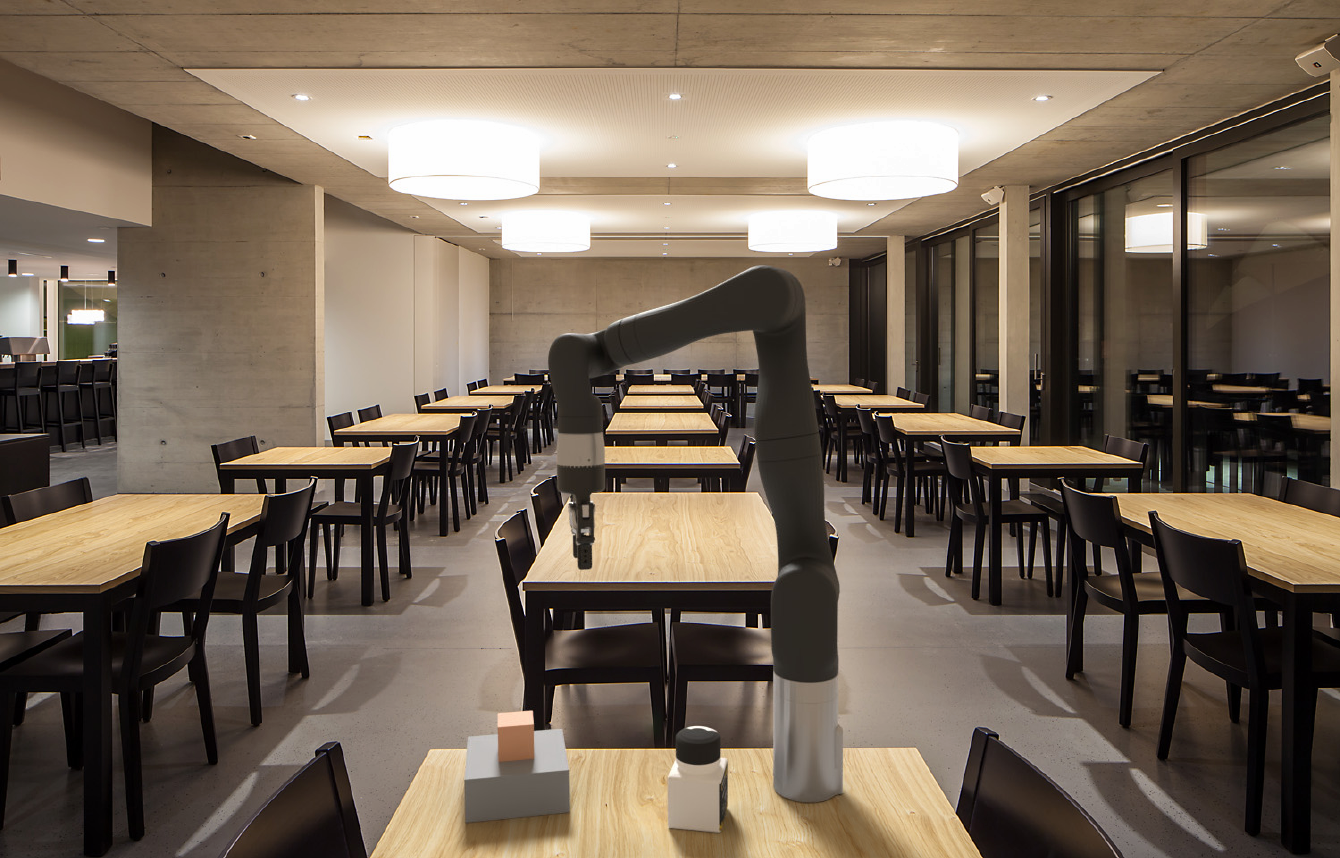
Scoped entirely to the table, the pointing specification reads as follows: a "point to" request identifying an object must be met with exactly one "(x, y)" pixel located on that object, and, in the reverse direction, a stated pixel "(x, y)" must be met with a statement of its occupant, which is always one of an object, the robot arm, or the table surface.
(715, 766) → the medicine bottle
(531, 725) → the terracotta cube
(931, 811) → the table surface
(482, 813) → the slate pedestal
